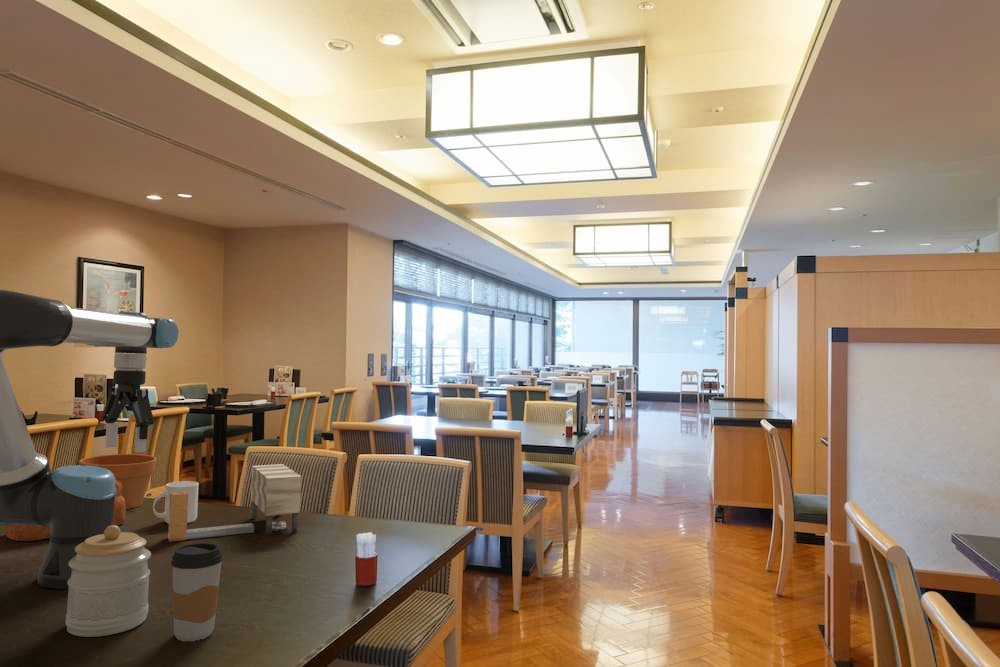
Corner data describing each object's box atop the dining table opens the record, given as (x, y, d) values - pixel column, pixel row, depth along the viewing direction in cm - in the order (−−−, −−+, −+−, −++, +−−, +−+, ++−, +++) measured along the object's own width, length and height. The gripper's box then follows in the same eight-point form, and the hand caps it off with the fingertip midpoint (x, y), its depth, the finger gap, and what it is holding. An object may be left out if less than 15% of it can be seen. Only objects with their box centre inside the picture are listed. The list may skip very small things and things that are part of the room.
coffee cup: (205, 620, 122) (209, 539, 122) (228, 634, 116) (232, 548, 117) (159, 634, 115) (163, 548, 116) (181, 649, 110) (185, 558, 110)
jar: (161, 610, 126) (165, 517, 127) (124, 639, 113) (129, 536, 114) (92, 609, 126) (96, 516, 126) (47, 638, 113) (53, 534, 113)
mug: (147, 522, 189) (148, 484, 189) (190, 515, 197) (192, 480, 197) (156, 528, 182) (158, 489, 183) (201, 521, 191) (203, 484, 191)
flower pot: (169, 502, 214) (171, 456, 214) (115, 516, 193) (118, 466, 194) (117, 496, 219) (119, 451, 220) (59, 510, 199) (62, 461, 200)
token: (287, 530, 185) (288, 524, 185) (269, 532, 183) (269, 526, 183) (283, 526, 190) (283, 520, 190) (265, 528, 187) (265, 522, 187)
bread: (130, 525, 185) (133, 470, 186) (19, 545, 164) (23, 483, 165) (108, 517, 194) (110, 464, 194) (0, 535, 172) (3, 475, 173)
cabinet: (299, 532, 182) (301, 476, 183) (265, 536, 178) (267, 478, 178) (280, 514, 201) (282, 464, 202) (249, 517, 197) (252, 465, 197)
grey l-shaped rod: (254, 532, 181) (255, 488, 181) (169, 541, 170) (171, 495, 171) (251, 529, 185) (253, 486, 185) (167, 537, 174) (170, 492, 174)
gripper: (171, 371, 173) (166, 452, 172) (117, 368, 186) (113, 444, 185) (143, 371, 167) (138, 455, 166) (90, 368, 179) (85, 446, 178)
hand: (125, 449), depth 175 cm, fingers open, 13 cm apart
